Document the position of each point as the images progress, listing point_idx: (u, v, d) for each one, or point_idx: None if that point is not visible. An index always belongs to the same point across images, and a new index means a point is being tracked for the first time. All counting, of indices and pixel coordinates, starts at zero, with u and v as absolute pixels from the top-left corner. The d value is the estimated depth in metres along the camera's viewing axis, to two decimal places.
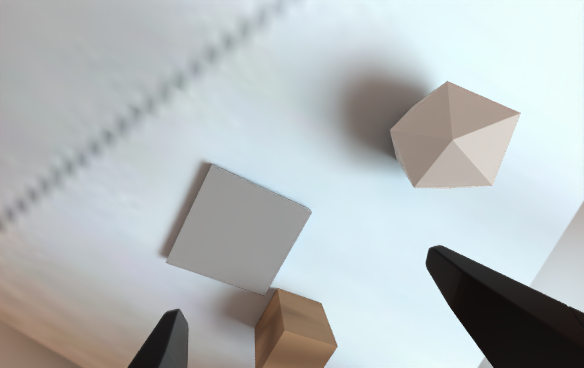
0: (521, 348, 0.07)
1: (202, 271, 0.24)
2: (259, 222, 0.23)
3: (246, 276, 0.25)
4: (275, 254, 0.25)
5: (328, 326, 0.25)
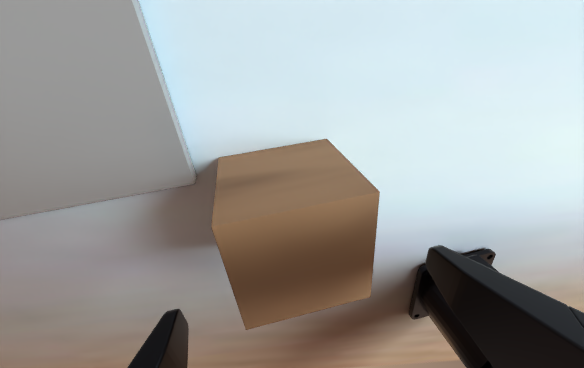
0: (521, 348, 0.07)
1: (31, 206, 0.11)
2: None
3: (121, 167, 0.11)
4: (127, 81, 0.09)
5: (347, 165, 0.10)
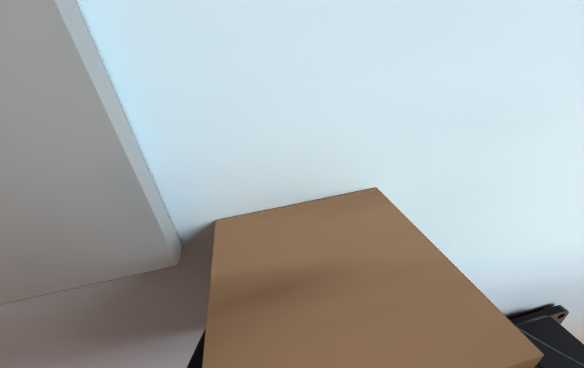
0: None
1: None
2: None
3: (55, 250, 0.07)
4: (47, 117, 0.05)
5: (437, 259, 0.06)
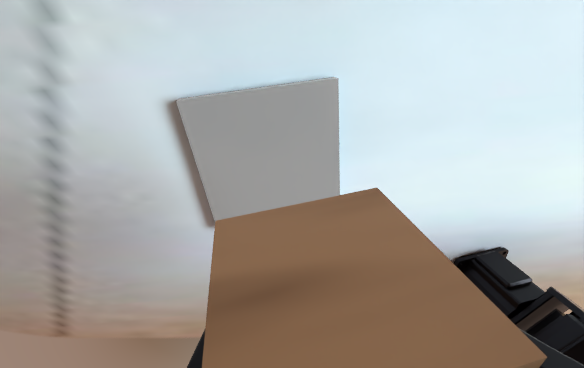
0: None
1: None
2: (281, 133, 0.17)
3: (307, 199, 0.20)
4: (325, 158, 0.19)
5: (438, 260, 0.06)
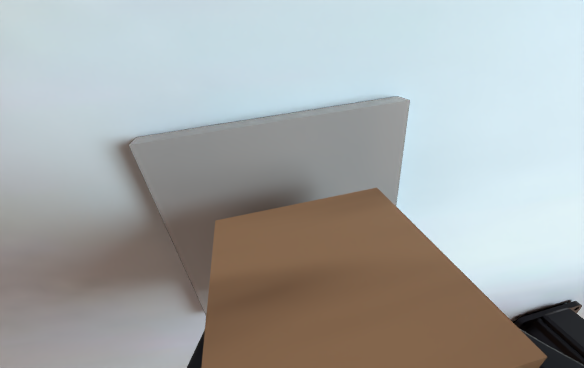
0: None
1: None
2: (311, 187, 0.10)
3: None
4: None
5: (438, 259, 0.06)
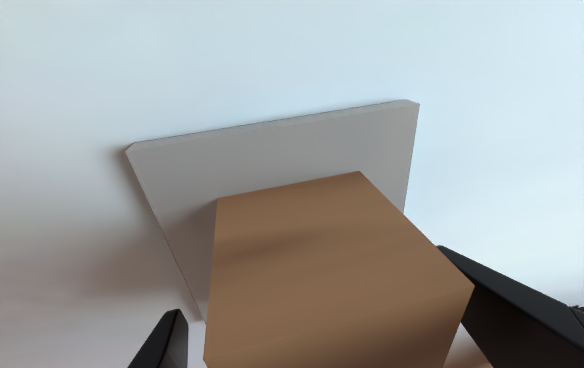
0: (521, 348, 0.07)
1: None
2: None
3: None
4: None
5: (403, 223, 0.07)
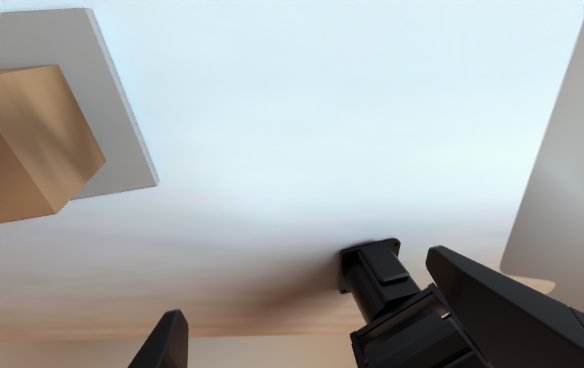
0: (521, 348, 0.07)
1: None
2: None
3: (105, 174, 0.16)
4: (109, 121, 0.15)
5: (4, 72, 0.10)
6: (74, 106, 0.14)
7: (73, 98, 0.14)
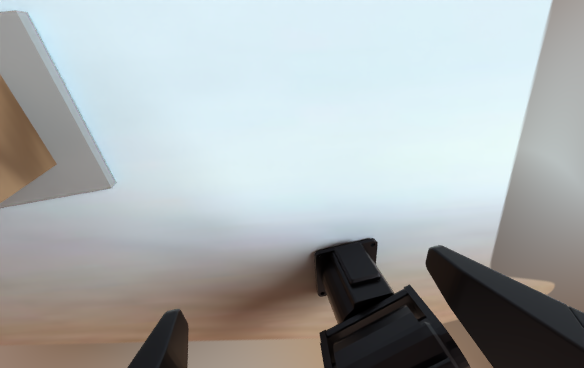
0: (521, 348, 0.07)
1: None
2: None
3: (57, 177, 0.16)
4: (55, 123, 0.15)
5: None
6: (15, 109, 0.14)
7: (14, 101, 0.14)
